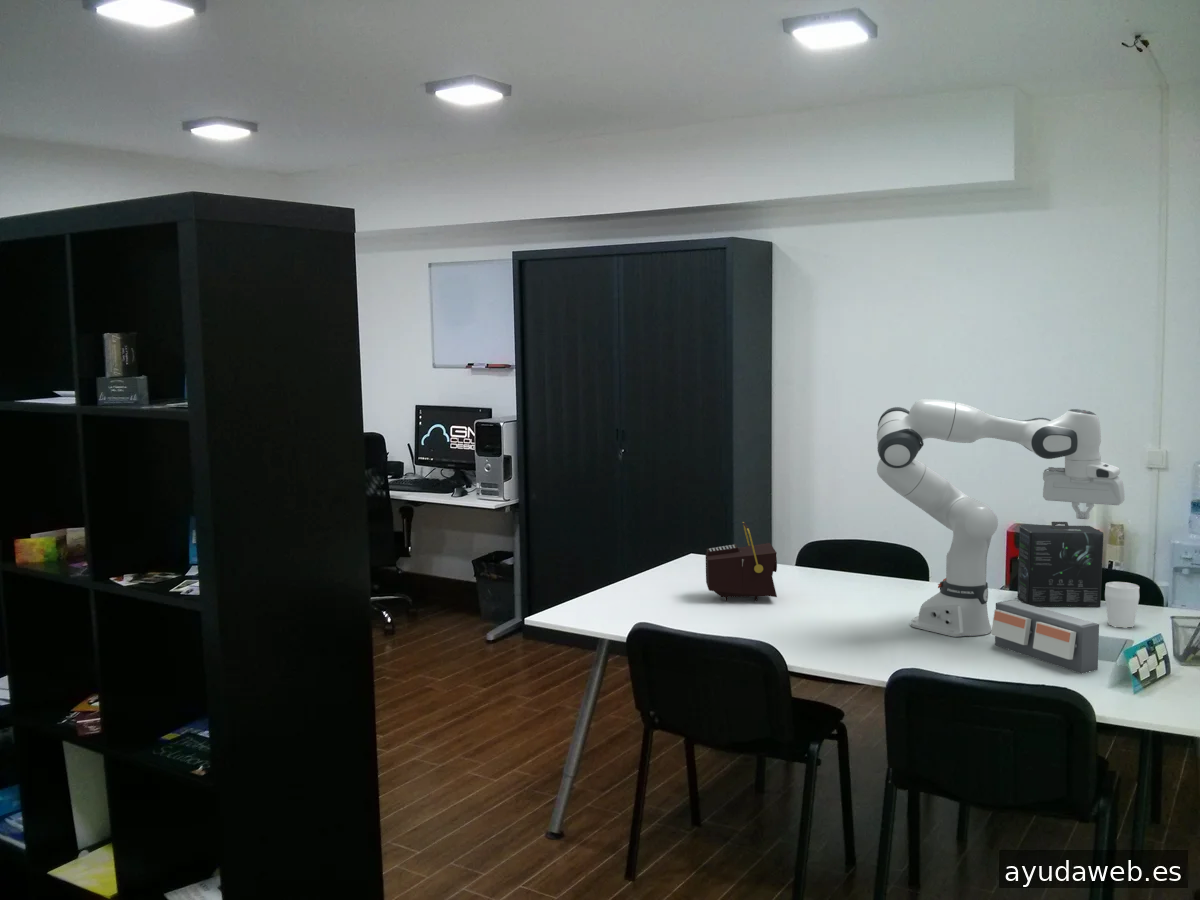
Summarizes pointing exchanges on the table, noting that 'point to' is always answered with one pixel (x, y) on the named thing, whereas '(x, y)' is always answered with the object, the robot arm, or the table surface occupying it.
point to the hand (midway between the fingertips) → (1082, 518)
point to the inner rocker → (1011, 627)
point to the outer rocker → (1054, 640)
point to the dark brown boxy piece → (741, 570)
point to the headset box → (1060, 565)
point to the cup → (1121, 603)
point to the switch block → (1085, 630)
